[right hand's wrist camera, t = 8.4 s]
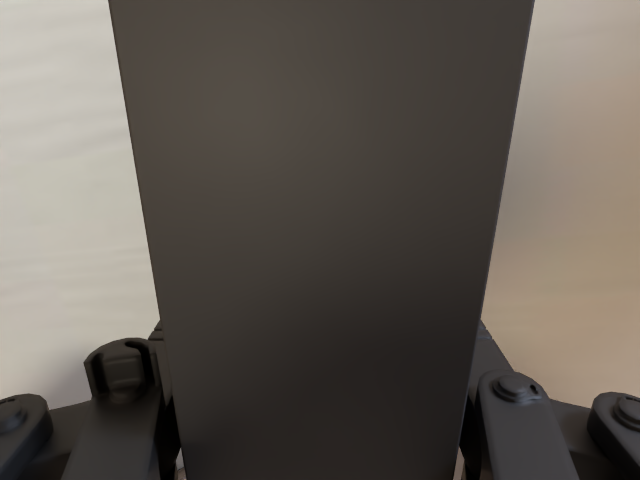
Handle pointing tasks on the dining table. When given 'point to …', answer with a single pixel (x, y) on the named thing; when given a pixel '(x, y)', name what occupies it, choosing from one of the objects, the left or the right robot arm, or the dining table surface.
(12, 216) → the dining table surface
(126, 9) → the bar
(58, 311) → the dining table surface
